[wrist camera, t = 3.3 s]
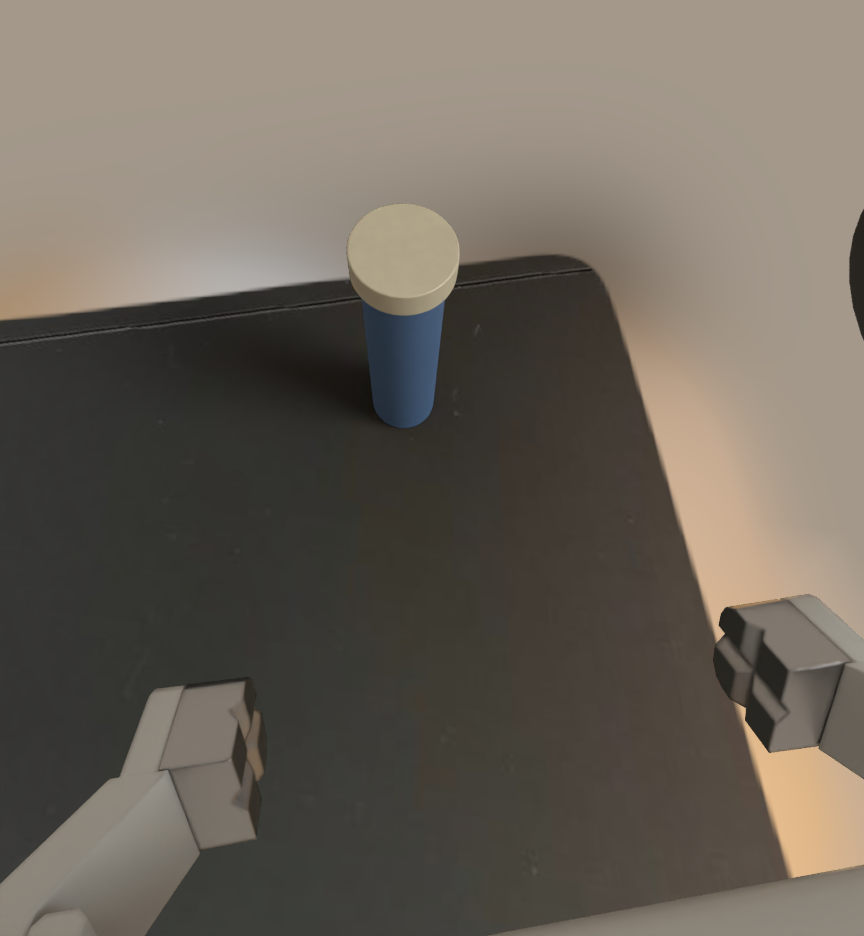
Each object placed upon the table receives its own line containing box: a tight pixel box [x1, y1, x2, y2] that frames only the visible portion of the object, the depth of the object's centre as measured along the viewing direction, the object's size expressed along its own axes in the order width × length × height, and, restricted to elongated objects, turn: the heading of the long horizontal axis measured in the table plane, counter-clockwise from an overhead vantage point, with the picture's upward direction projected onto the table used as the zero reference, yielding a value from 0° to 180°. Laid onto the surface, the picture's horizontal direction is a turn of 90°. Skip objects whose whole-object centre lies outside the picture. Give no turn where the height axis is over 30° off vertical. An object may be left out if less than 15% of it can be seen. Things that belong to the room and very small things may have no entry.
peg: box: [347, 204, 460, 428], centre depth 24 cm, size 3×3×11 cm
